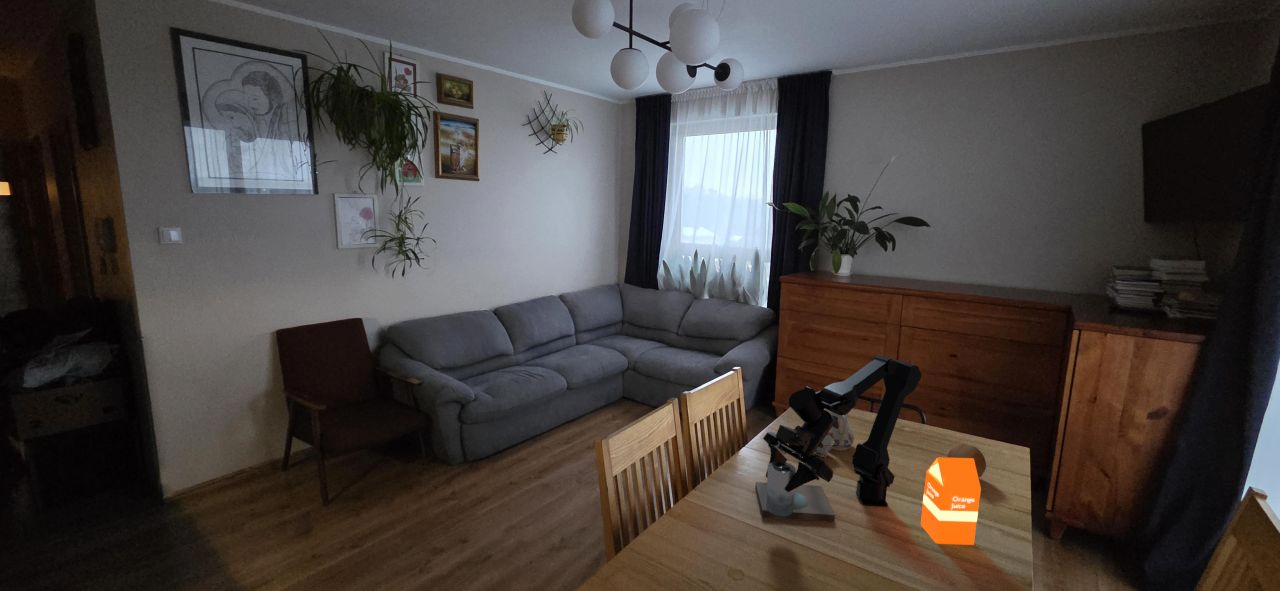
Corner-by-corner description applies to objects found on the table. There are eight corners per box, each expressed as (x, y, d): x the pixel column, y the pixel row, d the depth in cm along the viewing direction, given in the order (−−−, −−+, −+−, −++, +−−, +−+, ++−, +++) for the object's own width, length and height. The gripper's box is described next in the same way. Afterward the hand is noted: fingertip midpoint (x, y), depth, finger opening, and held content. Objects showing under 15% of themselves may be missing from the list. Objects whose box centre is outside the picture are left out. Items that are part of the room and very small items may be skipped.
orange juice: (919, 524, 130) (928, 449, 126) (955, 525, 129) (964, 450, 126) (936, 544, 122) (945, 465, 119) (974, 545, 122) (984, 466, 118)
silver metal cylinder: (790, 501, 127) (792, 461, 126) (795, 516, 121) (798, 474, 119) (764, 500, 128) (766, 460, 126) (768, 515, 122) (770, 473, 120)
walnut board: (820, 492, 144) (821, 485, 143) (834, 522, 130) (835, 514, 130) (755, 488, 146) (755, 481, 145) (762, 517, 132) (762, 509, 131)
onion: (951, 483, 150) (955, 450, 148) (941, 467, 159) (944, 436, 158) (989, 488, 147) (993, 455, 146) (976, 471, 157) (980, 440, 155)
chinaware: (795, 430, 189) (793, 386, 187) (842, 428, 187) (841, 384, 185) (812, 466, 162) (810, 416, 160) (867, 465, 160) (866, 414, 157)
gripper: (770, 400, 131) (733, 450, 127) (827, 428, 114) (787, 486, 111) (792, 424, 136) (757, 473, 132) (849, 454, 119) (812, 510, 116)
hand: (776, 484), depth 123 cm, fingers closed on silver metal cylinder, 6 cm apart
